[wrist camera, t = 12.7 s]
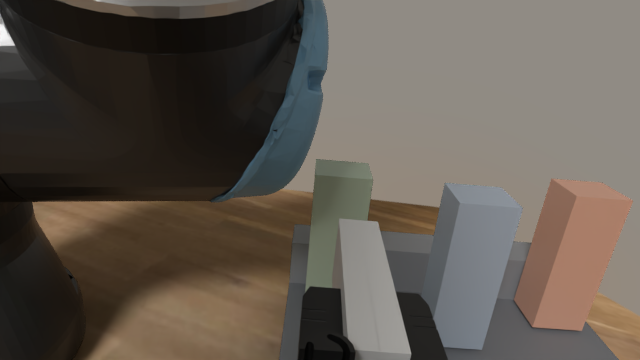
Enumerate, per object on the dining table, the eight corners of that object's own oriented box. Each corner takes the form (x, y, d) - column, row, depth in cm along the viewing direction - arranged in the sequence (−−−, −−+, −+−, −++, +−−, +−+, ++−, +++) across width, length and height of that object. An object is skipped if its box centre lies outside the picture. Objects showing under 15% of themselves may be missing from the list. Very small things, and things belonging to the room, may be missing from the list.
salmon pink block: (532, 327, 29) (576, 196, 25) (513, 299, 31) (551, 178, 28) (581, 330, 29) (633, 200, 25) (558, 303, 31) (602, 182, 28)
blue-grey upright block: (427, 345, 26) (459, 203, 22) (417, 314, 29) (445, 182, 25) (481, 349, 26) (523, 208, 22) (466, 317, 29) (501, 187, 25)
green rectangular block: (303, 309, 28) (315, 174, 25) (305, 284, 31) (316, 159, 27) (354, 313, 28) (373, 179, 25) (351, 287, 31) (368, 163, 27)
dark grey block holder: (271, 429, 22) (275, 356, 20) (291, 276, 35) (294, 224, 33) (675, 456, 22) (714, 388, 20) (545, 295, 35) (562, 245, 33)
